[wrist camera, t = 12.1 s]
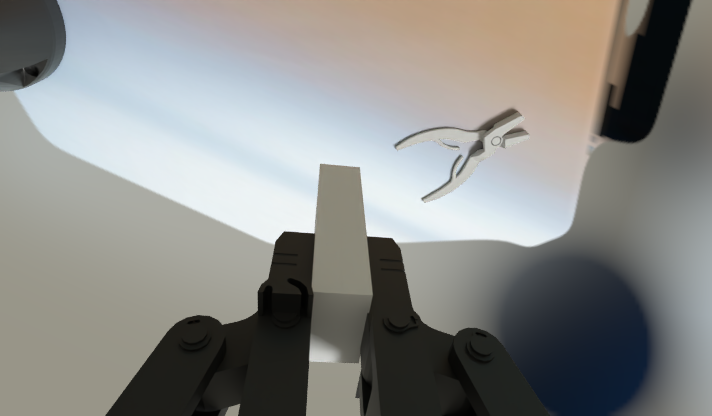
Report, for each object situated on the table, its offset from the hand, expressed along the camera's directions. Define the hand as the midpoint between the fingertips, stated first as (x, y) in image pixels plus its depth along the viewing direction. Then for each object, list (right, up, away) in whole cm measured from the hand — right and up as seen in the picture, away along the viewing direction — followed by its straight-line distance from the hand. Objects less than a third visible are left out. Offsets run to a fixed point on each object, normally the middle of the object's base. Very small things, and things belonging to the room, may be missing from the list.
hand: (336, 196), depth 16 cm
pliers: (+15, +7, +36) cm, 39 cm away
